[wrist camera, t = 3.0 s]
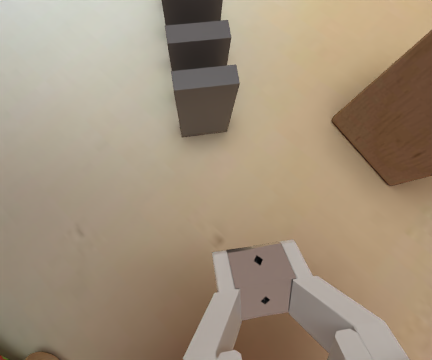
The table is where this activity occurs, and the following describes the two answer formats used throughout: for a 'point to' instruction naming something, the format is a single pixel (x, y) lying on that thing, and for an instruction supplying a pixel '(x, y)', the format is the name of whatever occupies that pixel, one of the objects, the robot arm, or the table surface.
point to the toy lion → (37, 356)
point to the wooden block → (395, 117)
